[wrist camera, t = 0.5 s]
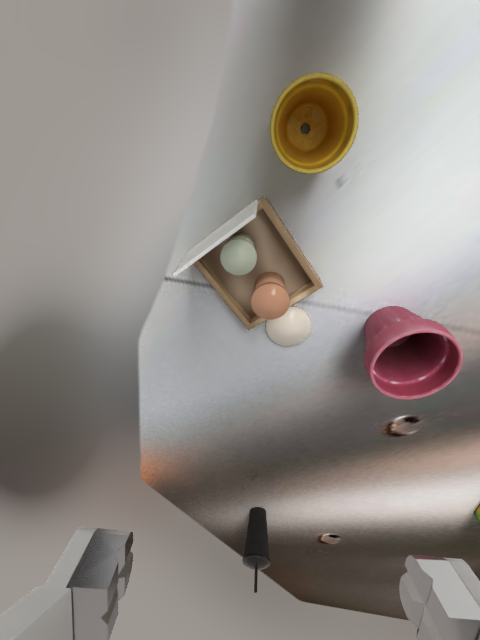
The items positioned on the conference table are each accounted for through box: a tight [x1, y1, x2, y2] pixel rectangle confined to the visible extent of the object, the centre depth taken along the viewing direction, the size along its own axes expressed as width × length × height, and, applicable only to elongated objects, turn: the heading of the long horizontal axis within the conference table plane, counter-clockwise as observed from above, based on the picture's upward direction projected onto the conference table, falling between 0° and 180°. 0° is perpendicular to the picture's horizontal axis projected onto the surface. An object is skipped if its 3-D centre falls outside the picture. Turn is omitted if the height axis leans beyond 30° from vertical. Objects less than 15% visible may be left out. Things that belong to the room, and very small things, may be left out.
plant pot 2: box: [364, 306, 463, 399], centre depth 55 cm, size 14×14×13 cm
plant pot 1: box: [270, 73, 358, 174], centre depth 41 cm, size 10×10×10 cm
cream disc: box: [266, 306, 312, 346], centre depth 62 cm, size 9×9×1 cm
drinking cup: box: [243, 507, 270, 593], centre depth 88 cm, size 8×8×20 cm
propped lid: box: [172, 199, 260, 277], centre depth 46 cm, size 14×1×11 cm, turn 127°
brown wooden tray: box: [193, 196, 323, 330], centre depth 55 cm, size 16×18×3 cm
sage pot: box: [220, 233, 257, 275], centre depth 52 cm, size 6×6×6 cm
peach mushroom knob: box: [251, 272, 290, 320], centre depth 55 cm, size 6×6×7 cm
